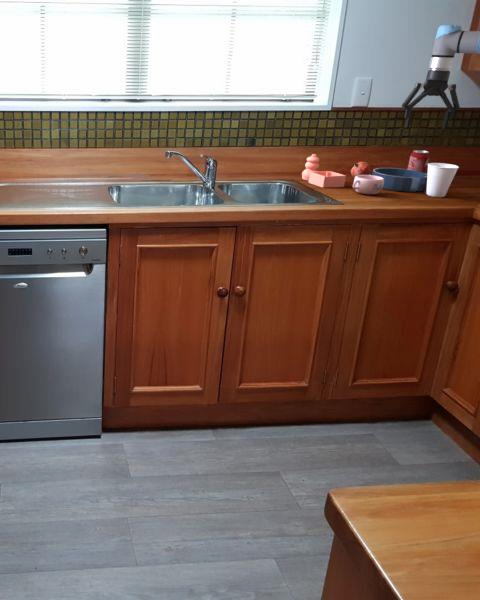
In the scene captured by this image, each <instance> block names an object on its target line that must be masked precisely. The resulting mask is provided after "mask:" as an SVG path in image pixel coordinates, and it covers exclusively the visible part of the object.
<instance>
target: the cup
mask: <svg viewBox="0 0 480 600" xmlns="http://www.w3.org/2000/svg"><path fill="white" fill-rule="evenodd" d="M459 168H460V166H458V165H456V164H451V163H445V162H428V165H427V174H428V177H427V185H426V191H425V194H426V195H427V196H429V197H433V198H444V197H446V196H447V193H448V191H449V188H450V186H451V184H452V182H453V180H454V178H455V176H456V174H457V172H458V169H459Z"/></svg>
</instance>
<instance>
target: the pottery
mask: <svg viewBox="0 0 480 600" xmlns="http://www.w3.org/2000/svg"><path fill="white" fill-rule="evenodd" d="M319 162H320V158H319V157H318V156H317V154H316V153H312V154H311V156H308V157H307V158H306V163H305V165H304V167H305V169H304V170H303V171H302V172H301V179H302V180H305V181H308V184H311V185H315V186H317V187H320V188H323V189H324V188H344V187H345V184H346V179H347V175H345V174H342V173H339V172H335V171H332V170H326V171H325V170H324V171H323V170H322V171H321V170H320V171H319V170H318V169H319V168H320V163H319Z"/></svg>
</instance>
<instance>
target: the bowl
mask: <svg viewBox="0 0 480 600" xmlns="http://www.w3.org/2000/svg"><path fill="white" fill-rule="evenodd" d="M371 175H373V176H379V177H382V178H383V179H384V185H383V188H382V189H381V190H387V191H391V192H392V191H393V192H400V191H401V193H417V192H416V191H418V192H422V191H425V190H427V177H428V173H423V172H419V171H415V170H408V169H407V168H397V167H377V168H373V170H372V173H371ZM402 191H403V192H402Z"/></svg>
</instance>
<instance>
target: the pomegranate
mask: <svg viewBox="0 0 480 600" xmlns="http://www.w3.org/2000/svg"><path fill="white" fill-rule="evenodd" d="M353 165H354V166H353V167H352V168H351V170H350V174H351V176H352V177H353V178H354V179H355V177H356V176H357V175H371V166H370V164H369V162H366V161H359V162H356V163H353Z"/></svg>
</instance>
